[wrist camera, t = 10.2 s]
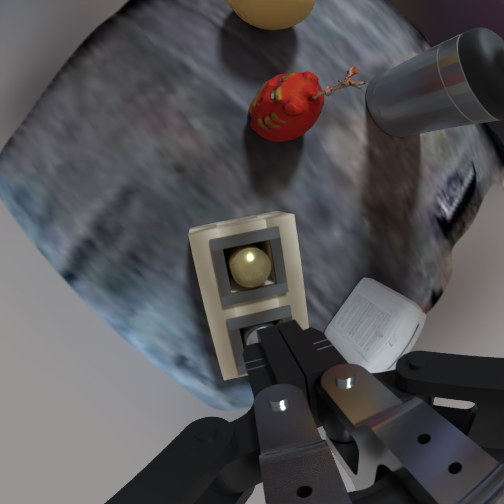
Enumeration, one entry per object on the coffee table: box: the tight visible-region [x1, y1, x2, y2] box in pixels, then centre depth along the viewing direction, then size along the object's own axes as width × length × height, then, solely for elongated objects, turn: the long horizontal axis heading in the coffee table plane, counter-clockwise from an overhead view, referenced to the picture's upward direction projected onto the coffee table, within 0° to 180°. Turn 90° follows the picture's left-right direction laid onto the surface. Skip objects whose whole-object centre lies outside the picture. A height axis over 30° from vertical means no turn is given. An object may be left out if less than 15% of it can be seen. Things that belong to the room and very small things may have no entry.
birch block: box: [188, 211, 309, 380], centre depth 32 cm, size 10×16×7 cm, turn 10°
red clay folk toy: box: [248, 66, 365, 142], centre depth 24 cm, size 8×7×15 cm
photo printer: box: [324, 277, 426, 373], centre depth 32 cm, size 10×4×12 cm, turn 145°
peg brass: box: [226, 243, 271, 287], centre depth 30 cm, size 4×4×6 cm
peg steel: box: [241, 321, 274, 345], centre depth 32 cm, size 4×4×6 cm
